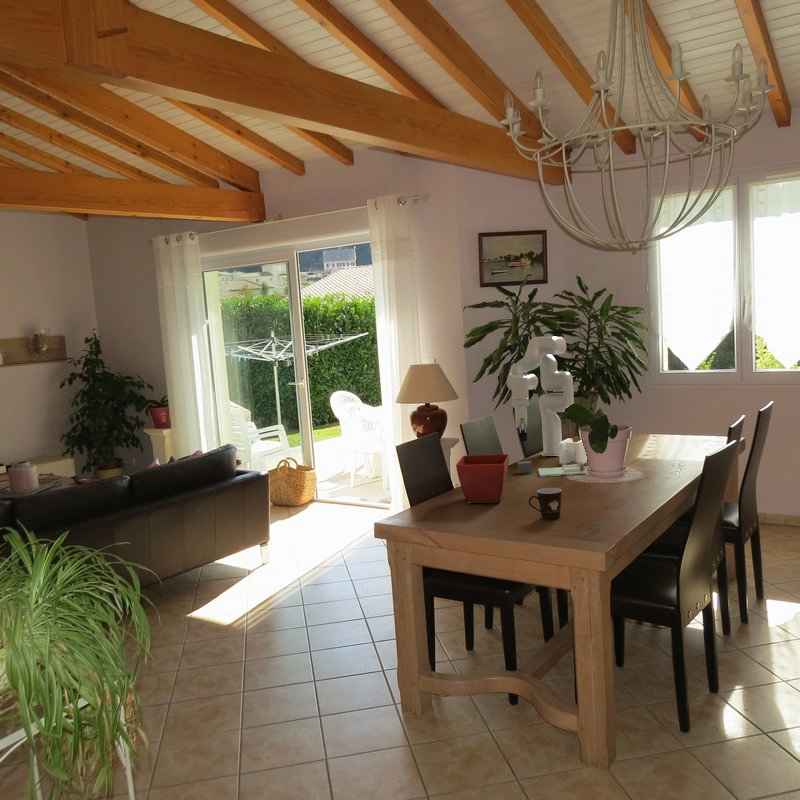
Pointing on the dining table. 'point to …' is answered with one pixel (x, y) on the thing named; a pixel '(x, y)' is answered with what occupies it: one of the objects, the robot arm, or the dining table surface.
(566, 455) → the cable organizer
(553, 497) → the coffee mug
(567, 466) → the board
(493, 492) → the plant pot
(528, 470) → the plug
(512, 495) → the dining table surface
